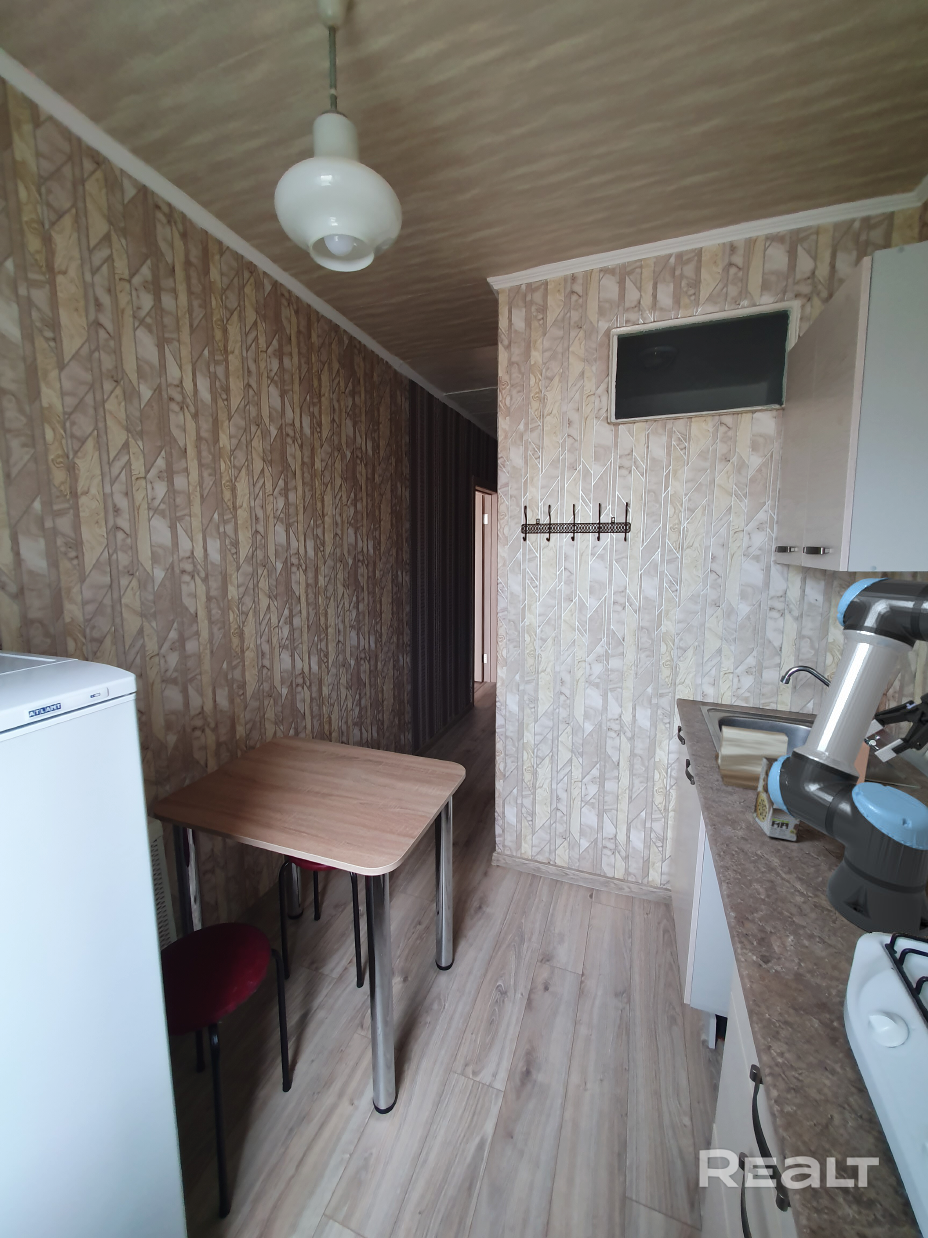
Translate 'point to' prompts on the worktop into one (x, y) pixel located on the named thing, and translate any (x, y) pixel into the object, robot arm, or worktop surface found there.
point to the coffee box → (772, 809)
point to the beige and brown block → (747, 754)
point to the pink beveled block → (862, 762)
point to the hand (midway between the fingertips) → (867, 746)
